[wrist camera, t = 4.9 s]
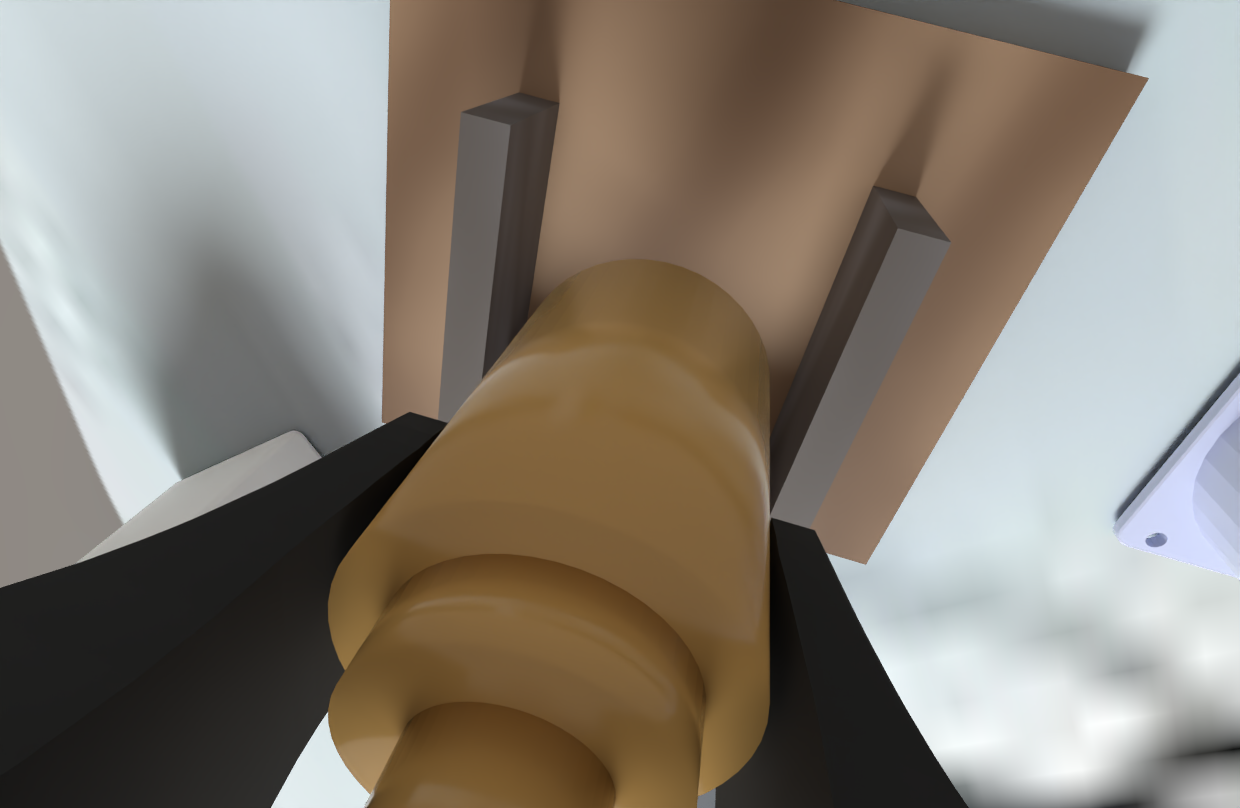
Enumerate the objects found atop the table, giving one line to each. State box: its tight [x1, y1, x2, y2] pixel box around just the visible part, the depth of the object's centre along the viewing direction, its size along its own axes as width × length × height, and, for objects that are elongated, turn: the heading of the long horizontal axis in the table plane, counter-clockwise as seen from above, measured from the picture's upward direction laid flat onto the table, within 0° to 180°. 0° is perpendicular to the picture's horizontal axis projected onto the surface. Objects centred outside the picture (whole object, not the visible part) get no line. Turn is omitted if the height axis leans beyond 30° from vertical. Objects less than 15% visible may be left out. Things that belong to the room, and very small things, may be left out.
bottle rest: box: [382, 0, 1149, 564], centre depth 16 cm, size 16×14×4 cm
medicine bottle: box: [75, 430, 322, 564], centre depth 21 cm, size 7×7×12 cm
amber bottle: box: [328, 259, 770, 808], centre depth 8 cm, size 5×5×10 cm
